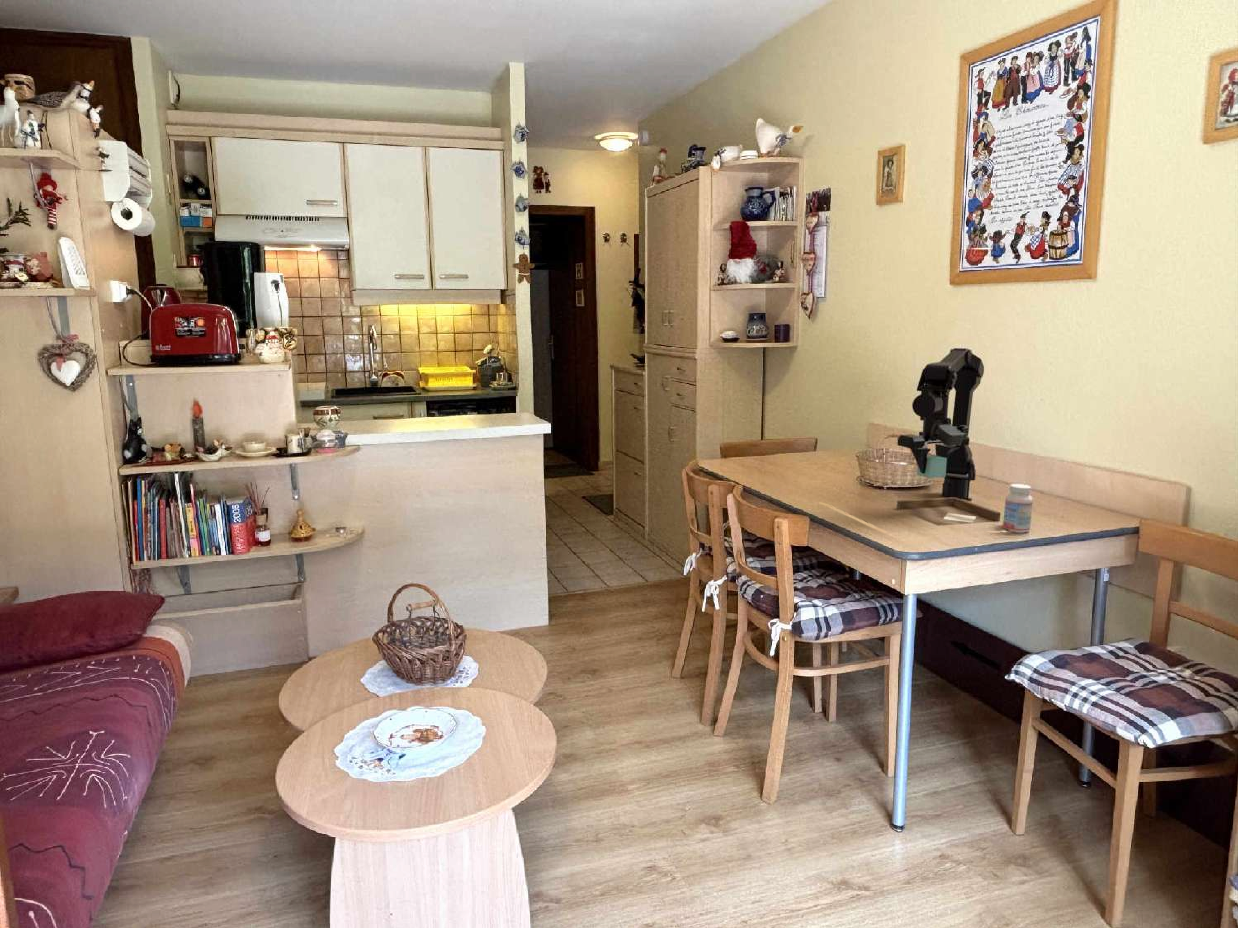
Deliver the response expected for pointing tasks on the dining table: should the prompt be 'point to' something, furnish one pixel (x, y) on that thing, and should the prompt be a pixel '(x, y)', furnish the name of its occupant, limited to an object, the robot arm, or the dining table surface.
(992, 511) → the arena
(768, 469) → the dining table surface
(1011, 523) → the pill bottle
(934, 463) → the teal block
